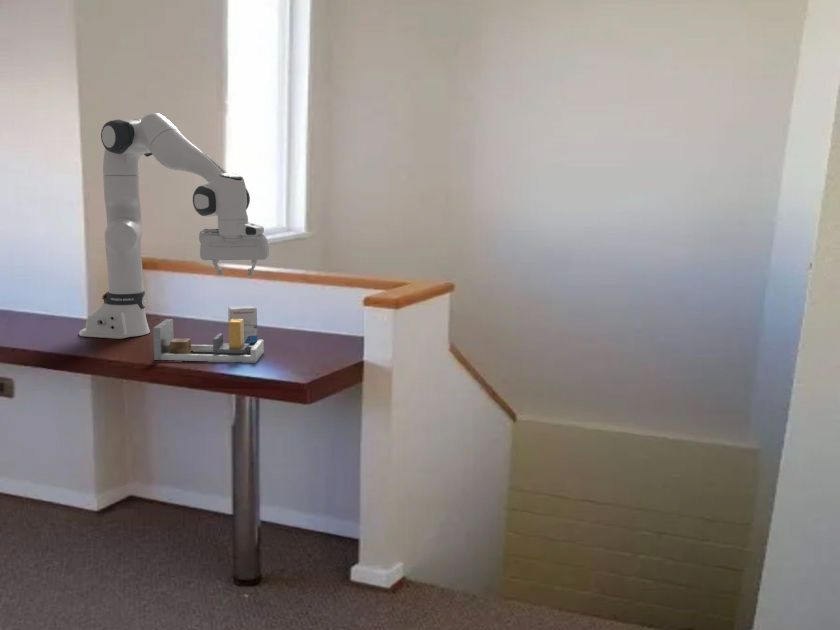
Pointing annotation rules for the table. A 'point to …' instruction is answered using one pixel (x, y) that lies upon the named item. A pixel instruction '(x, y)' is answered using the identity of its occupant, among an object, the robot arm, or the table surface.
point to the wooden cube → (180, 346)
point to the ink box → (246, 321)
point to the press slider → (232, 340)
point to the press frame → (197, 348)
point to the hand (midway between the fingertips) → (235, 274)
